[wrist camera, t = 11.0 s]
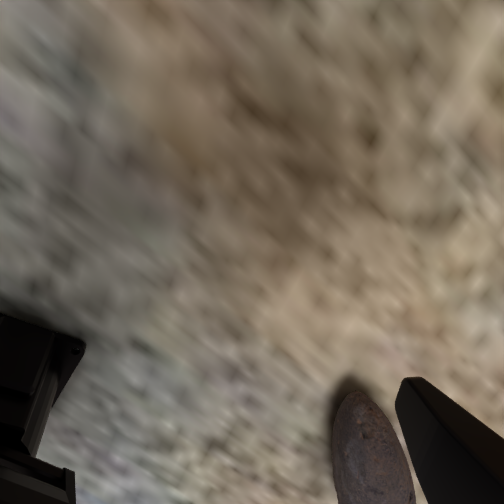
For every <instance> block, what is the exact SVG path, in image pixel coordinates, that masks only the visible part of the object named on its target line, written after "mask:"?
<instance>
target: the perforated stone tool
mask: <svg viewBox="0 0 504 504" xmlns="http://www.w3.org/2000/svg"><path fill="white" fill-rule="evenodd" d="M332 460H333V474H334V483H335V489H336V492H337V498H338V504H416V497H415V490H414V485H413V481H412V476H411V472H410V469H409V465H408V462H407V459H406V457H405V454H404V451H403V449H402V446H401V444H400V442H399V440H398V437H397V435H396V433H395V431H394V429H393V427H392V425H391V423H390V422H389V420H388V419H387V417H386V416H385V415H384V413H383V412H382V411H381V409H380V408H379V407H378V406H377V405H376V404H375V403H374V402H373V401H372V400H371V399H370V398H369V397H368V396H366V395H365V394H363V393H361V392H357V391H355V392H351V393H349V394H348V396H347V397H345V399H344V400H343V402H342V403H341V405H340V407H339V409H338V412H337V415H336V417H335V422H334V427H333V436H332Z"/></svg>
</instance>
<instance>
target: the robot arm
mask: <svg viewBox="0 0 504 504" xmlns="http://www.w3.org/2000/svg"><path fill="white" fill-rule="evenodd" d="M73 348H78V349H79V350H75V349H73ZM85 349H86V345H85V343H84V342H82V341H80V340H78V339H75V338H72V337H69V336H66V335H63V334H60V333H57V332H54V331H51V330H49V329H46V328H43V327H40V326H37V325H34V324H31V323H28V322H25V321H22V320H19V319H17V318H14V317H11V316H8V315H5V314H2V313H0V504H76V493H75V472H74V471H71V470H69V469H67V468H63V469H61V468H59V467H56V466H54V465H51V464H49V463H47V462H44V461H42V460H39V459H37V458H35V457H36V454H37V451H38V447H39V444H40V441H41V438H42V435H43V432H44V429H45V425H46V422H47V419H48V416H49V413H50V410H51V408H52V407H53V405H54V403H55V402H56V400H57V398H58V397H59V395H60V393H61V392H62V390H63V388H64V387H65V385H66V383H67V382H68V380H69V378H70V377H71V375H72V373H73V372H74V370H75V368H76V367H77V365H78V363H79V362H80V360H81V358H82V357H83V355H84V353H85ZM395 410H396V414H397V417H398V420H399V423H400V426H401V429H402V433H403V436H404V439H405V442H406V445H407V448H408V451H409V455H410V458H411V461H412V464H413V467H414V470H415V473H416V476H417V478H418V481H419V483H420V485H421V488H422V490H423V493H424V495H425V497H426V499H427V502H428V504H504V439H503V438H502V437H501V436H499V435H498V434H497V433H495V432H494V431H493V430H491V429H490V428H489V427H487V426H486V425H485V424H483V423H482V422H481V421H480V420H478V419H477V418H476V417H474V416H473V415H472V414H470V413H469V412H468V411H466V410H465V409H464V408H462V407H461V406H460V405H458V404H457V403H456V402H454V401H453V400H452V399H450V398H449V397H448V396H447V395H445V394H444V393H443V392H441V391H440V390H439V389H437V388H436V387H435V386H433V385H432V384H431V383H429V382H428V381H427V380H425V379H424V378H422V377H406V378H404V379H403V380H402V382H401V385H400V388H399V391H398V394H397V397H396V400H395Z"/></svg>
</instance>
